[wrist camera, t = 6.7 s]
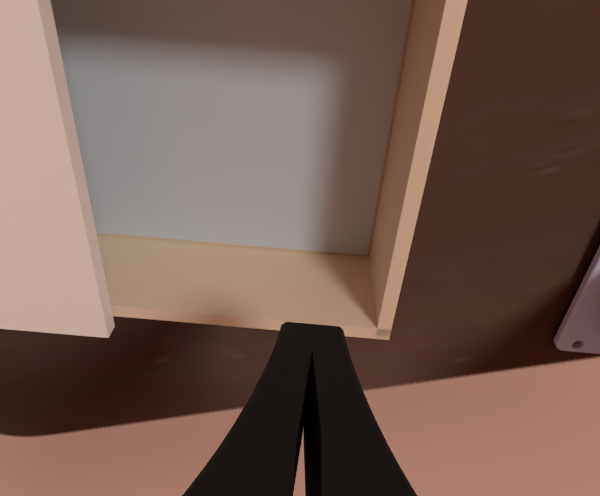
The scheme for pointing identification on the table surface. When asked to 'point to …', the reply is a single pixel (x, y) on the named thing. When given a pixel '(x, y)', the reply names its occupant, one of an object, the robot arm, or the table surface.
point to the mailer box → (257, 152)
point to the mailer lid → (44, 188)
